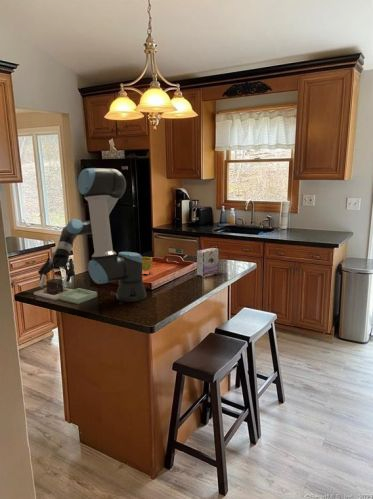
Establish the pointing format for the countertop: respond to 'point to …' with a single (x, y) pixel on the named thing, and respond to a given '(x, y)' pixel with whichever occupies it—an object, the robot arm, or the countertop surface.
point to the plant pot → (146, 263)
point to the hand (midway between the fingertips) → (52, 286)
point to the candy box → (207, 261)
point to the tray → (78, 295)
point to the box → (54, 286)
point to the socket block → (44, 294)
